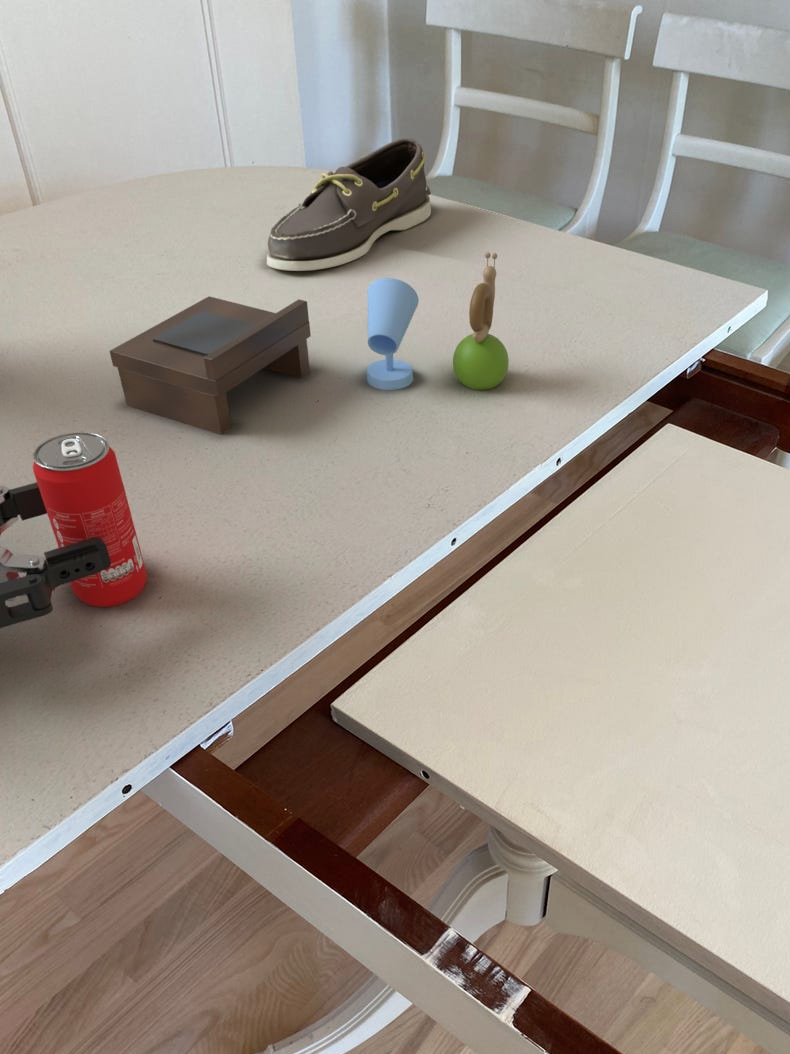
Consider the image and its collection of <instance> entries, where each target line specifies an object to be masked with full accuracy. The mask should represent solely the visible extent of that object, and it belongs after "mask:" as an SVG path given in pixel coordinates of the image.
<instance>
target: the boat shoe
mask: <svg viewBox="0 0 790 1054" xmlns="http://www.w3.org/2000/svg"><path fill="white" fill-rule="evenodd" d="M425 162H426V156H425V153H424V150H423V148H422V146H421V144H420V143H419V142H418V141H416V139H414V138H411V137H402V138H399V139H396V140H394V141H391V142H388V143H387V144H385V145H383V146H381V147H379V148H377V149H376V150H375V149H374V151H372V152H370V153H368V154H366V155H364V156H362V157H360V158H359V159H357V160H355V161H353V162H351V163H349V164H348V165H346V166H340V167H338V168H337V169H336V170H335V172H333V171H331V170H329V171H328V172H327V173H325V172H321V177H322V179H320V180H319V181H317V182H316V184H314V186H313V189H312V191H311V192H310V194H308V196H306V197H305V198H304V199H303V202H302V203H298V206H297V207H295V208H293V209H292V210H291V211H289V212H288V213H286V214H285V215H284V216H282V217H281V218H280V219H279V220H278V221H277V222H276V223H275V224H274V225H273V227H271V229H270V233H269V236H268V239H267V248H268V251H269V252H268V253H267V255H266V265H267V266H268V267H270V268H272V269H276V270H280V271H290V272H291V271H292V272H293V271H294V272H302V271H303V272H304V271H316V270H324V269H329V268H333V267H337V266H341V265H345V264H347V263H350V262H352V261H355V260H357V259H359V258H361V257H363V256H365V255H366V254H367V253H368V252H369V251H370V249H371V247H372V245H373V244H374V243H375V241H376V240H378V238H380V237H382V235H384V234H386V233H388V232H389V231H406V230H408V229H410V228H413V227H415V226H417V225H419V224H421V223H423V222H425V221H426V220H428V219H429V217H430V216H431V214H432V209H431V208H432V207H431V198H430V195H431V193H432V191H431V190H430V187H429V186H428V185H427V177H426V173H425Z"/></svg>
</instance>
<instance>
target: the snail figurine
mask: <svg viewBox="0 0 790 1054" xmlns="http://www.w3.org/2000/svg"><path fill="white" fill-rule="evenodd" d="M484 257H485V259H486V267H485V268H484V269H483V271H482V278H483V282H481V283H479V284H477V285H476V286H475V288H474V290H473V292H472V295H471V298H470V301H469V309H468V311H469V312H468V315H469V318H468V319H469V326H470V328H471V330H472V331H473V333H471V334H469V335H466V336H465V337H463V339H461V340H460V342H459V343H458V344H457V345H456V347H455V349H454V352H453V354H452V355H453V356H452V368H453V371H454V374H455V376H456V378H457V380H458V381H459V382H460V383H461V384H462V385H463V386H465V387H466V388H468V389H471V390H475V391H485V390H486V391H487V390H491V389H494V388H495V387H497V386H498V385H499V384H500V383H502V381H503V380H504V379H505V377H506V375H507V373H508V370H509V362H510V360H509V354H508V351H507V348H506V346H505V345H504V344H503V342H502V341H501V340H500V339H499V338H498V337H497V336H495V335H493V334H492V333H491V334H490V333H489V332H490V329H491V328H492V323H493V318H494V306H495V305H494V304H495V299H496V298H495V297H496V278H497V270H496V259H497V258H498V254H497V253H496V252H493V253H490V252H489V251H486V252H485V253H484ZM490 258H492V260H493V265H489V259H490Z"/></svg>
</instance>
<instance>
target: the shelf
mask: <svg viewBox="0 0 790 1054" xmlns="http://www.w3.org/2000/svg"><path fill="white" fill-rule="evenodd" d="M310 337H311V324H310V317H309V307H308V301H307V300H304V299H296V300H295V301H294V302H292V303H290V304H288V305H287V306H285V307H283V308H281V309H280V310H279V311H277V312H272V311H269V310H265V309H261V308H258V307H253V306H250V305H246V304H241V303H237V302H234V301H229V300H226V299H221V298H218V297H213V296H207V297H205V298H203V299H201V300H200V301H198V302H195V303H194V304H192V305H190V306H188V307H187V308H185V309H183V310H182V311H179V312H177V313H176V314H174V315H172V316H169V317H168V318H167V319H164V320H163V321H161V322H159V323H157V324H155V325H154V326H152V327H149V328H148V329H146V330H145V331H143V332H141V333H139V334H138V335H135V336H134V337H132V338H130V339H129V340H126V341H125V342H123V343H120V344H119V345H118V346H116V347H113V348H112V349H110V350H109V355H110V360H111V363H112V367H114V368H117V371H118V375H119V379H120V380H119V381H120V384H121V388H122V392H123V396H124V400H125V404H126V406H127V407H130V408H132V409H135V410H139V411H142V412H146V413H149V414H153V415H155V416H159V417H162V418H165V419H168V420H171V421H175V422H178V423H181V424H184V425H188V426H190V427H194V428H198V429H201V430H204V431H206V432H210V433H212V434H213V433H214V434H217V435H220V436H223V434H225V433H227V432H228V431H229V430H231V429H232V423H231V422H232V421H231V417H230V410H229V404H228V399H227V393H228V392H229V391H231V390H233V389H234V388H235V387H237V386H238V385H240V384H241V383H243V382H244V381H246V380H247V379H249V378H251V377H252V376H253V375H255V374H256V373H258V372H259V371H261V370H262V369H267V370H271V371H274V372H278V373H281V374H285V375H289V376H292V377H295V378H299V379H303V378H304V377H306V376H307V375H309V374H310V373H311V367H310V358H309V349H308V339H309V338H310Z"/></svg>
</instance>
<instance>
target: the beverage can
mask: <svg viewBox="0 0 790 1054" xmlns="http://www.w3.org/2000/svg"><path fill="white" fill-rule="evenodd" d="M32 453H33V454H32V459H33V464H32V472H33V474H34V477H35V480H36V481H35V482H37V484H38V487H39V490H40V493H41V496H42V499H43V502H44V505H45V508H46V511H47V514H46V515H47V516H48V520H49V523H50V525H51V529H52V532H53V535H54V537H55V541H56V544H57V548H61V547H64V546H67V545H71V544H74V543H77V542H81V541H84V540H87V539H90V538H94V537H100V538H101V539H102V540H103V541H104V543H105V544H106V546H107V550H108V553H109V557H110V560H111V565H110V567H109V568H107V569H105V570H102V571H101V572H99V573H97V574H94V575H91V576H88V577H84V578H83V577H82V578H81V579H78V580H75V581H72V582H69V583H70V586H71V589H72V592H73V594H74V595H75V596H76V597H77V598H78V599H79V600H80V601H81V602H83V603H84V604H86V605H90V606H92V607H100V608H105V607H115V606H119V605H121V604H125V603H127V602H129V601H131V600H133V599H134V598H136V597H137V596H138V595H139V594H141V592H142V591H143V590H144V588H145V585H146V582H147V579H148V573H147V569H146V565H145V562H144V558H143V554H142V550H141V546H140V542H139V539H138V535H137V531H136V528H135V524H134V520H133V516H132V512H131V508H130V505H129V501H128V497H127V493H126V489H125V486H124V482H123V477H122V474H121V471H120V467H119V464H118V463H119V462H118V460H117V455H116V453H115V451H114V449H112V447H111V446H110V444H109V442H108V440H107V439H106V438H105V437H104V436H102V435H100V434H97V433H94V432H88V431H74V432H73V431H71V432H66V433H62V434H61V433H60V434H58V435H54V436H52V437H50V438H47V439H46V440H44V441H42V442H41V443H39V444H38V445H37V446H36V447H35V449H34V450H33V452H32Z"/></svg>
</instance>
